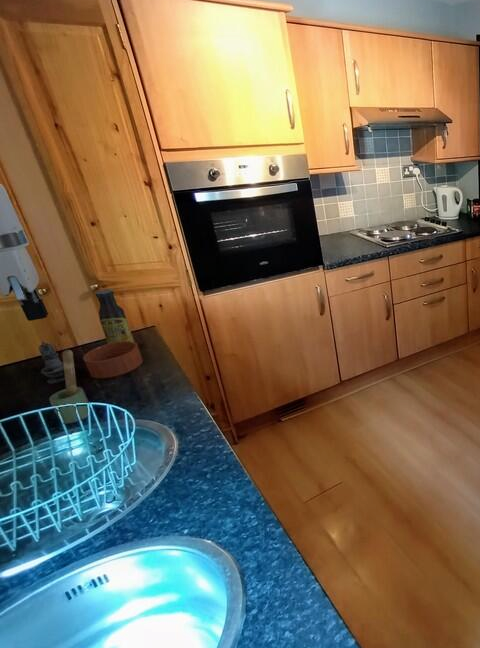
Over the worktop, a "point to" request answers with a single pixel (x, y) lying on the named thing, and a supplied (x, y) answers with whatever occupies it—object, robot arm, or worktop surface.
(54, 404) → the holder
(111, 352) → the bowl
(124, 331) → the sauce bottle
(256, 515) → the worktop surface
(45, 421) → the worktop surface
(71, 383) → the stick
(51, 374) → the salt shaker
